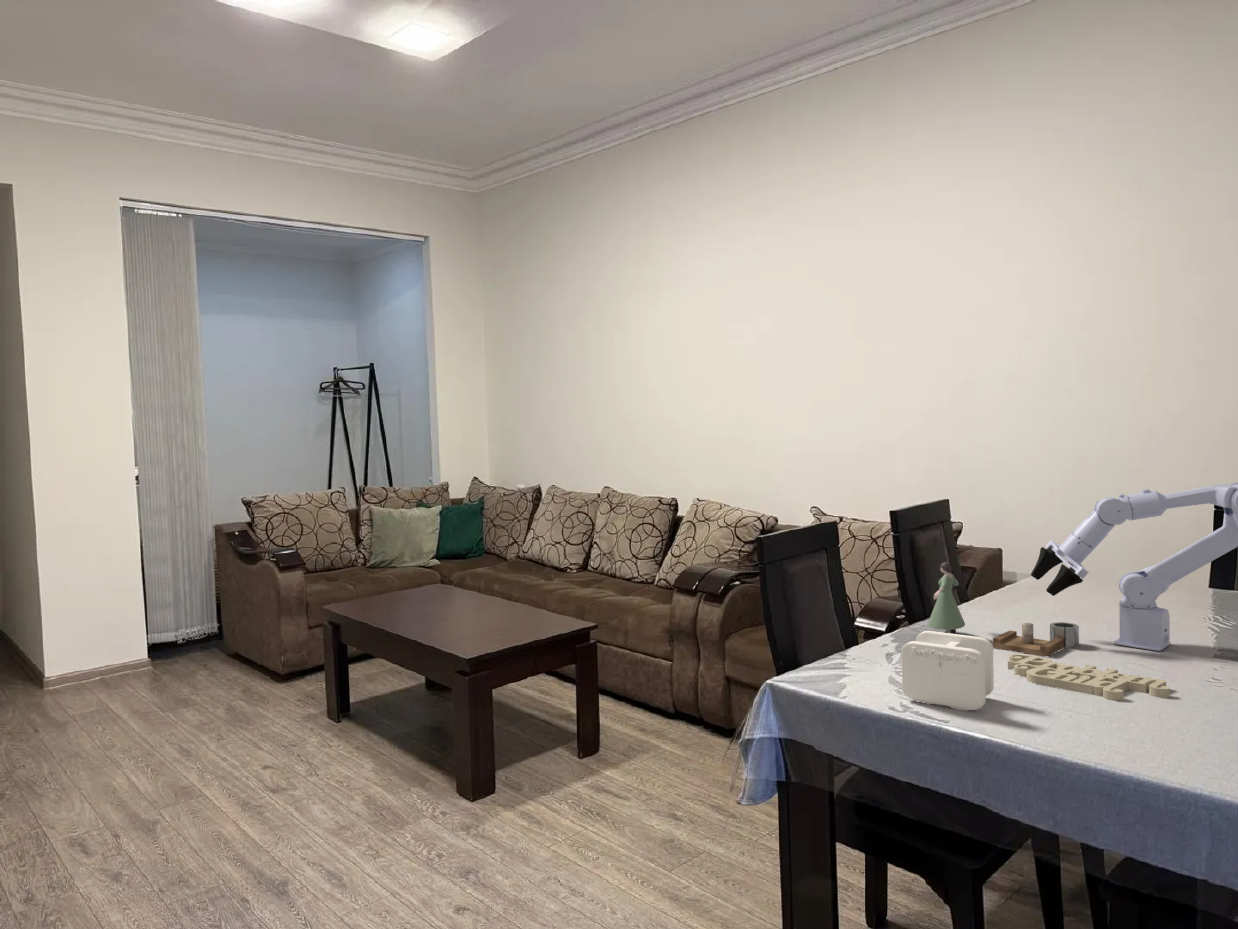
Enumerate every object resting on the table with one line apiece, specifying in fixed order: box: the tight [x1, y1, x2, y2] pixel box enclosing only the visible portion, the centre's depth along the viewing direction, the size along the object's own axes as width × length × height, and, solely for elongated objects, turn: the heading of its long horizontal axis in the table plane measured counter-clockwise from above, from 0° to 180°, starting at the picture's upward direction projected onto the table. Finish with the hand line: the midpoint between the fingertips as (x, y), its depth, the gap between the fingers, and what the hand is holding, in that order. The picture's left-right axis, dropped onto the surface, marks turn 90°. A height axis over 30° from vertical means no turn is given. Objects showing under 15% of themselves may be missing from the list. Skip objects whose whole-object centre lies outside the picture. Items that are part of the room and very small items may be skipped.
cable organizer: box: [900, 630, 995, 712], centre depth 164 cm, size 15×11×12 cm
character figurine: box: [927, 561, 966, 634], centre depth 210 cm, size 16×8×18 cm, turn 136°
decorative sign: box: [1007, 653, 1171, 702], centre depth 172 cm, size 31×2×15 cm
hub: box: [1049, 621, 1080, 649], centre depth 198 cm, size 6×6×4 cm
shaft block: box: [992, 622, 1065, 657], centre depth 197 cm, size 12×9×6 cm
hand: (1041, 585), depth 203 cm, fingers open, 7 cm apart
